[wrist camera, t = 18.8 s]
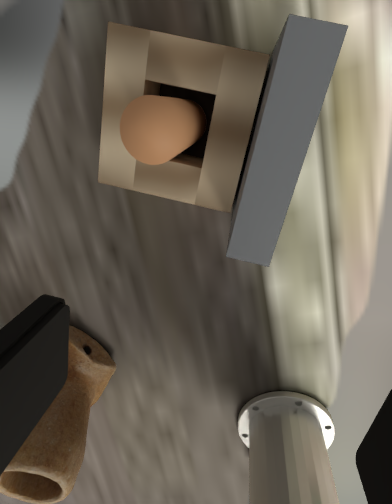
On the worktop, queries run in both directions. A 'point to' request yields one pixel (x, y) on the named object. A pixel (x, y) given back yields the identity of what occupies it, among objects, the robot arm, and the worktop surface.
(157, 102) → the dowel
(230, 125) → the beige square ring
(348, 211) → the worktop surface
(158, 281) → the worktop surface
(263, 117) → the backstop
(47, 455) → the brown chunky piece
